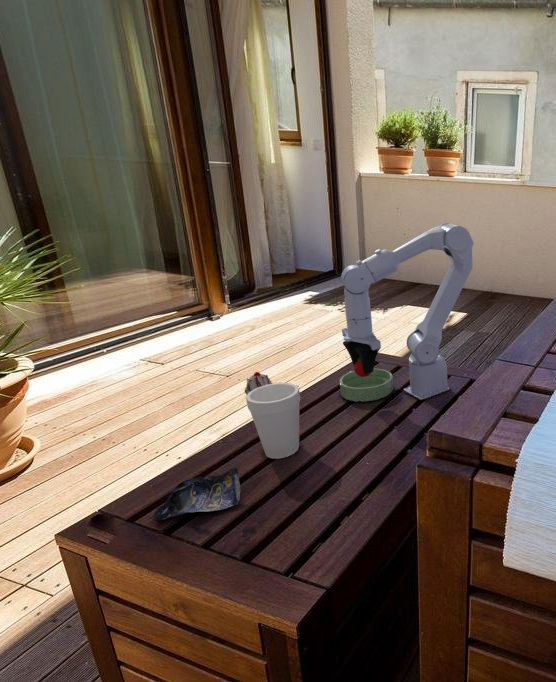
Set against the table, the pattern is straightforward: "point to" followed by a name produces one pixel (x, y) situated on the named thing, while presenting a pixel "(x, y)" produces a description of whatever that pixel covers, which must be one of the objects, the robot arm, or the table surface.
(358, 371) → the tomato
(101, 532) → the table surface
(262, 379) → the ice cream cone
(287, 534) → the table surface
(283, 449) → the foam cup
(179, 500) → the snack package
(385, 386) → the bowl
